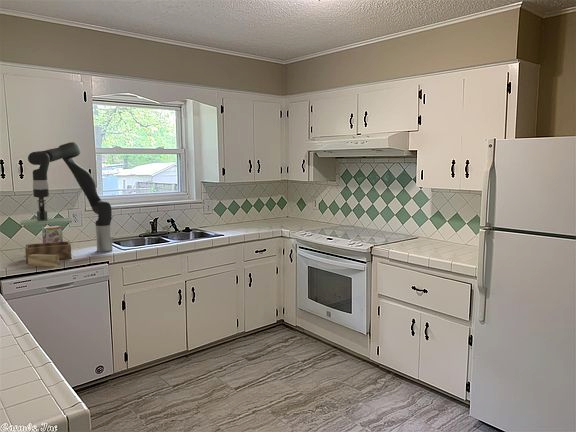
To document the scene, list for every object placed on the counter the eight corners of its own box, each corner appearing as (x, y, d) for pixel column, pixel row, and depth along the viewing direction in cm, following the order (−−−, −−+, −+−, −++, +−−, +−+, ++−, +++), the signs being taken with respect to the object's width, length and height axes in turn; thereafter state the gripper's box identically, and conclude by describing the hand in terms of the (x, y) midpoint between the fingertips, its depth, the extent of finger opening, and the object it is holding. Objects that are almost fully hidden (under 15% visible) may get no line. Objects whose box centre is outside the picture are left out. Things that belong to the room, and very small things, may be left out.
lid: (70, 219, 264) (70, 209, 264) (71, 222, 251) (71, 211, 251) (21, 221, 253) (21, 211, 252) (20, 225, 240) (19, 213, 239)
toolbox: (70, 254, 287) (69, 241, 286) (71, 259, 275) (70, 244, 274) (26, 258, 276) (25, 244, 274) (26, 263, 263) (25, 248, 262)
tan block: (32, 264, 262) (32, 254, 262) (59, 264, 261) (58, 254, 261) (28, 266, 258) (27, 255, 258) (55, 266, 257) (54, 256, 257)
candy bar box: (46, 253, 292) (44, 228, 290) (43, 252, 296) (41, 227, 293) (63, 250, 301) (62, 226, 299) (60, 249, 304) (58, 225, 302)
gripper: (33, 187, 253) (35, 218, 255) (32, 189, 241) (34, 221, 243) (48, 187, 257) (50, 217, 259) (48, 188, 245) (50, 220, 247)
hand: (42, 219), depth 251 cm, fingers closed on lid, 2 cm apart
